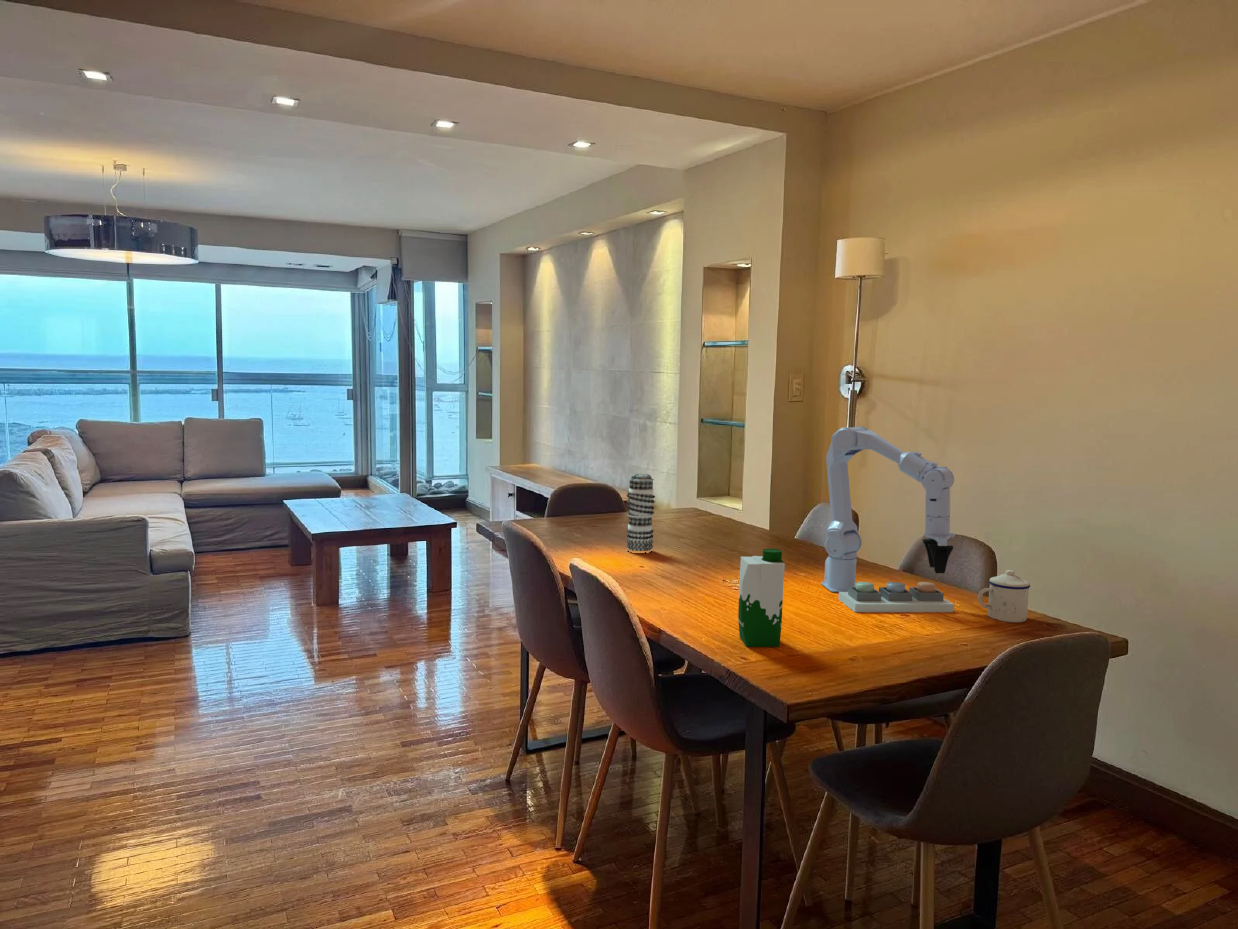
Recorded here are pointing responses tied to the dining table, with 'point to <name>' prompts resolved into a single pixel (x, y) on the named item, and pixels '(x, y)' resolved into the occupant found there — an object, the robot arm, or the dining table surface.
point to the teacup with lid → (1007, 597)
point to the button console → (895, 601)
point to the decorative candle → (640, 513)
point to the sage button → (864, 587)
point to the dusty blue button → (895, 587)
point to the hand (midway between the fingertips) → (937, 570)
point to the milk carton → (761, 599)
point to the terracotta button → (926, 587)
